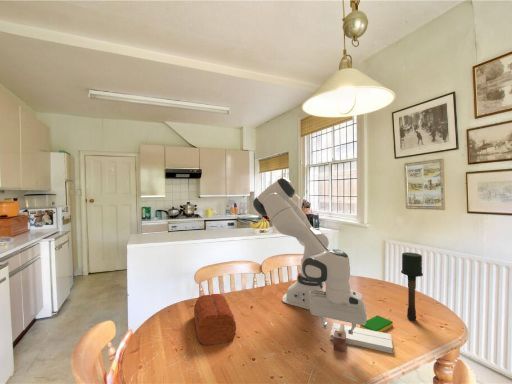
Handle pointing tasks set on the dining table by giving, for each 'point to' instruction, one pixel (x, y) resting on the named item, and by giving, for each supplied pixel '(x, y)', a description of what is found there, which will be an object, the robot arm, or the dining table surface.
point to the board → (366, 338)
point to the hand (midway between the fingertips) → (337, 330)
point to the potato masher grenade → (411, 279)
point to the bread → (214, 320)
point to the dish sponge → (377, 324)
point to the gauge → (339, 339)
